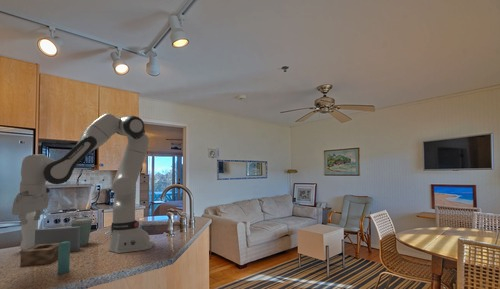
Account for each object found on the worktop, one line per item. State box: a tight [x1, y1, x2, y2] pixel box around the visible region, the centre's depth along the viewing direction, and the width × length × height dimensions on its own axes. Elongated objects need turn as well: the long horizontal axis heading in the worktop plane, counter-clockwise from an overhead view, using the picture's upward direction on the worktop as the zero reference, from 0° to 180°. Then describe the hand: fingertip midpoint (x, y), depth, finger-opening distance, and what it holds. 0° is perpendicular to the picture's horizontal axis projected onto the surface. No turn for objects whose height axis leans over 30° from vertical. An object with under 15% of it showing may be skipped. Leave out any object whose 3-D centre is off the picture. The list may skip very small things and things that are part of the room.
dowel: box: [57, 241, 71, 275], centre depth 112 cm, size 4×4×12 cm
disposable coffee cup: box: [70, 216, 93, 247], centre depth 153 cm, size 11×11×15 cm
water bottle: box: [19, 211, 39, 252], centre depth 145 cm, size 7×7×25 cm
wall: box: [35, 226, 81, 252], centre depth 141 cm, size 20×3×12 cm, turn 102°
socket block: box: [19, 243, 59, 267], centre depth 127 cm, size 12×12×6 cm
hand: (30, 222), depth 118 cm, fingers open, 8 cm apart
